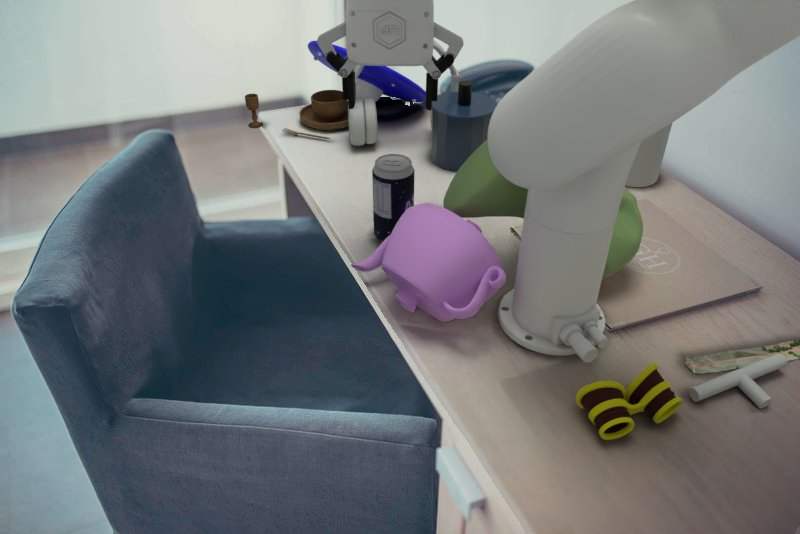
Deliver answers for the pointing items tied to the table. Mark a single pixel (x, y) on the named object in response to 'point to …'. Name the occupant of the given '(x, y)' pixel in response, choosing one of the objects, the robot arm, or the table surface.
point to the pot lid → (464, 103)
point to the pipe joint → (741, 381)
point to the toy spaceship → (376, 79)
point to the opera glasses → (613, 409)
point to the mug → (649, 159)
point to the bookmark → (741, 357)
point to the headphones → (365, 110)
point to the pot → (456, 140)
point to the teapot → (438, 263)
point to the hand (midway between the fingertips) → (390, 105)
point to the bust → (496, 196)
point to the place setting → (313, 112)
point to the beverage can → (391, 192)
